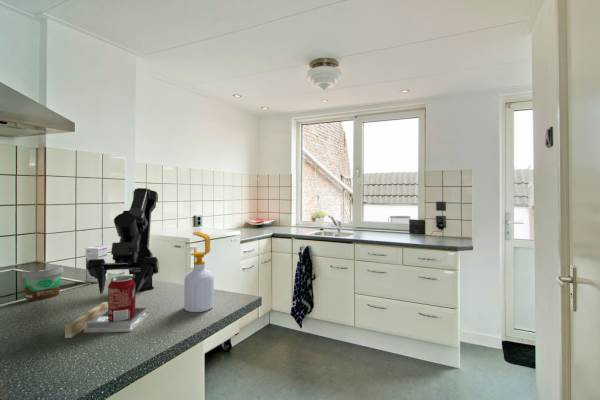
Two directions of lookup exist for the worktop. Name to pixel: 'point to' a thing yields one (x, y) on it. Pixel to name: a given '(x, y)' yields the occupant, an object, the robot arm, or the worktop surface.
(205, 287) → the soap bottle
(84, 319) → the oak threshold
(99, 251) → the syrup box
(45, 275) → the food container
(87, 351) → the worktop surface
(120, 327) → the tray
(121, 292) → the soda can
